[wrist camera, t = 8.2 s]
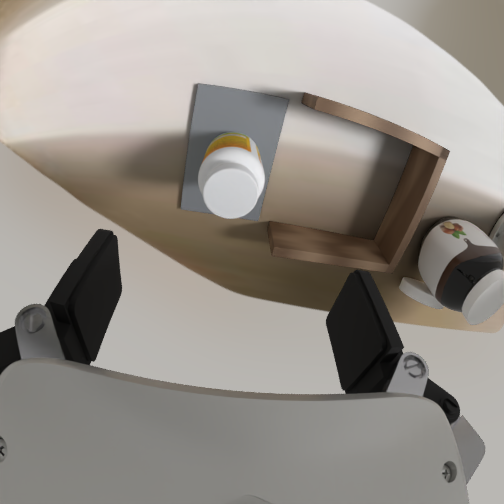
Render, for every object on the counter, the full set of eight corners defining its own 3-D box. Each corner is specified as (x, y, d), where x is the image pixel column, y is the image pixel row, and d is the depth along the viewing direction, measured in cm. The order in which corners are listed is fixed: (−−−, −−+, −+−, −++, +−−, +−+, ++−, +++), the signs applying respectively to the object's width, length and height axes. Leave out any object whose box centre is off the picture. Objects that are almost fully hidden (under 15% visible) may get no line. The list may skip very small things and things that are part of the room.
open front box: (424, 137, 23) (449, 150, 20) (377, 248, 31) (392, 273, 28) (304, 92, 21) (317, 96, 18) (267, 229, 29) (271, 255, 25)
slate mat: (288, 99, 22) (288, 99, 21) (257, 219, 28) (258, 221, 28) (199, 83, 20) (198, 83, 20) (181, 207, 27) (180, 209, 27)
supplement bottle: (195, 156, 24) (176, 194, 17) (233, 120, 22) (231, 142, 15) (231, 190, 26) (229, 240, 19) (270, 157, 24) (283, 196, 18)
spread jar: (474, 212, 29) (528, 266, 19) (453, 277, 35) (491, 334, 26) (403, 219, 29) (458, 288, 20) (388, 291, 36) (422, 361, 26)
